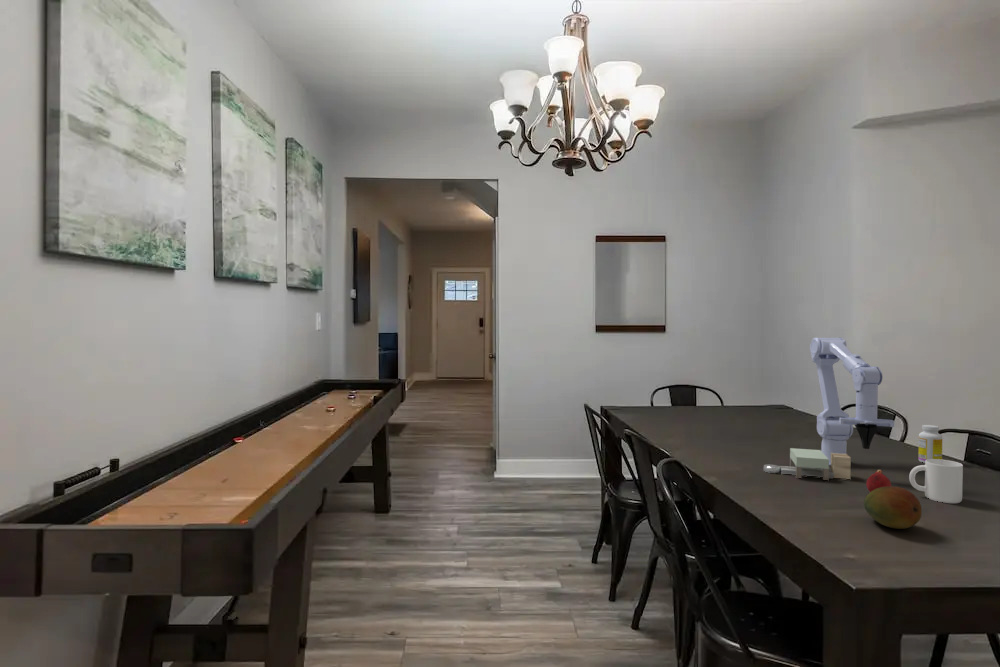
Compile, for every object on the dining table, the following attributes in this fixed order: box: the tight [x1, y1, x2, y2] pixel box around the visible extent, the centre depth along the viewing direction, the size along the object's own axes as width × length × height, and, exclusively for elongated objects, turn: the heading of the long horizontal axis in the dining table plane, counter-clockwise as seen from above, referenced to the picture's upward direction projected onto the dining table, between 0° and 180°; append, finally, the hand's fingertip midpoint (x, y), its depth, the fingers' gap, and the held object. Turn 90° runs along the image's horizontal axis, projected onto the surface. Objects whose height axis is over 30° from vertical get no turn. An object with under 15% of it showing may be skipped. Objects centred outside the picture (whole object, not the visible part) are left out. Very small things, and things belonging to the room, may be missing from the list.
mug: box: [908, 459, 964, 504], centre depth 161 cm, size 12×8×10 cm
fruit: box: [863, 485, 923, 530], centre depth 139 cm, size 12×13×10 cm
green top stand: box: [789, 447, 830, 482], centre depth 185 cm, size 13×9×7 cm
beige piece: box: [779, 453, 852, 480], centre depth 185 cm, size 5×20×7 cm, turn 71°
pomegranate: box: [865, 469, 892, 493], centre depth 161 cm, size 6×6×8 cm
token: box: [763, 463, 781, 474], centre depth 189 cm, size 5×5×2 cm
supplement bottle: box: [917, 424, 943, 464], centre depth 200 cm, size 7×7×13 cm
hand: (865, 448), depth 180 cm, fingers closed
